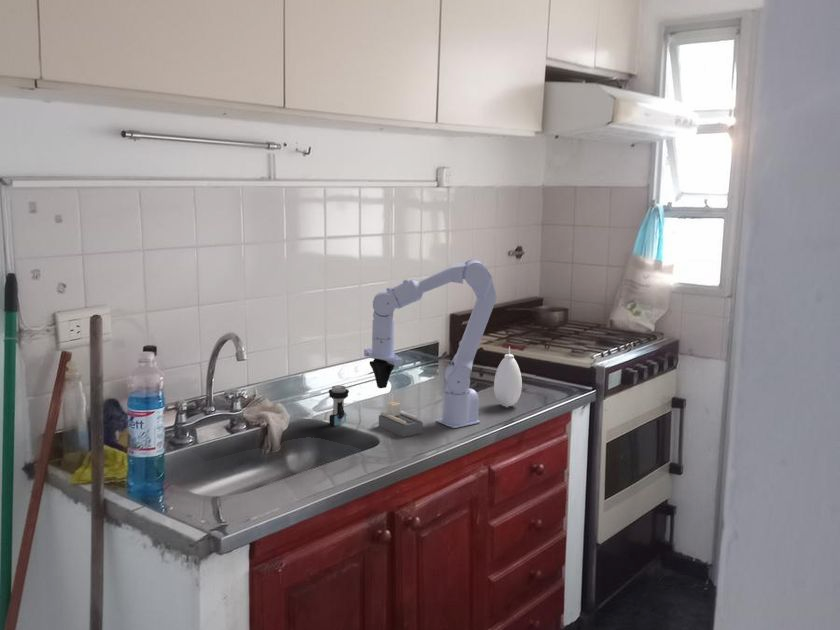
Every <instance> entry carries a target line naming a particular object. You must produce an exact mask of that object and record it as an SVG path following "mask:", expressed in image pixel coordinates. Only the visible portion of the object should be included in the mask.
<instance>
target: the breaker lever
mask: <svg viewBox="0 0 840 630" xmlns="http://www.w3.org/2000/svg"><path fill="white" fill-rule="evenodd" d="M386 405H387V407H386V408H387V409H386V411H387V412H386V413H387V414H389V415H392V416H397V415H400V410H401V403H400V402H397V401H394V402H393V401H392V402H388V403H387V404H386Z"/></svg>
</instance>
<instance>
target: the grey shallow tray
mask: <svg viewBox="0 0 840 630" xmlns="http://www.w3.org/2000/svg"><path fill="white" fill-rule="evenodd" d="M423 425H424V424H423V421H422V418H421V417H418V416H416V415H413V414H411V413H408V412H406V411H403V410H401V409H400V415H397V416H392V415H389V414H387V412H384V411H381V412H380V414H379V415H378V427H380V428H382V429H385V430H387V431H389V432H391V433H394V434H395V435H397V436H400V437H402V438H407V437H411V436H416V435H420V434H423Z"/></svg>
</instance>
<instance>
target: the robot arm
mask: <svg viewBox="0 0 840 630" xmlns="http://www.w3.org/2000/svg"><path fill="white" fill-rule="evenodd" d="M464 280H465V282H466V283H467V284H468V286H469V287H471V289H472V292H473V293H474V294H475V296H476V300H475V303H474V306H473V309H472V311H471V314H470V317H469V319H468V321H467V324H466V327H465V330H464V333H463V335H462V338H461V341H460V343H459V346H458V348H457V351H456V353H455V354H454V356H453V358H452V360H451V363H449V364H448V365H447V366H446V367H445V370H444V374H443V375H444V378H445V380H446V381H445V383H446V384H445V386H444V387H443V389H442V390H443V391H442V395H443V396H442V417H441V418H436V419H435V422H437V423H439V424H441V425H445V426H447V427H450V428H452V429H458V428H463V427H467V426H470V425H475V424H479V423H481V420H479V403H480V399H479V395H478V393H477V391H476V390H475V389H473V388H472V387H471V388H470V385H471V373H472V369H473V365H474V359H475V356H476V354H477V351H478V349H479V347H480V343H481V341H482V339H483V335H484V333H485V330H486V327H487V325H488V322H489V319H490V317H491V314H492V312H493V309H494V306H495V304H496V301H497V295H496V290H495V285H494V281H493V276H492V274H491V272H490V271H489V269H488V267H487V266H486V265H484V263H483V262H482V261H480V260H479V259H476V258H471V259H468V260H466V262H464V261H463V262H459V263H456V264H454V265H450V266H448V267H446V268H445V269H442V270H440V271H438V272H437V273H434V274H432V275H430V276H428V277H426V278H424V279H422V280H420V281H418V280H415V279H410V280H409V279H407V278H406V279H404V280H402V283H401V284H398V285H395V286H394V287H386V289H385V290H386V291H380V292H378V293H376V295H375V296H374V297H373V300H372V309H373V313H372V318H373V319H372V333H371V337H372V338H371V348H364V349H363V357H366V358H367V357H368V358H370V359H373V360H371V361H369V366H370V367H371V369H372V372H373V375H374V378H375V382H376V387H377V388H378V389H385V388H387V387H388V382H389V379H390V376H391V374H392V372H393V370H394V368H395V367H401V366H402V367H403V358H402V357H400V356H398V355H397V354H396V353H394V350H395V349H394V348H395V347H394V346H395V340H394V339H395V320H394V311H395V310H396V309H397V310H398V309H401V308H404V307H406V306H409V305H410V304H413V303H415V302H418V301H420V300H421V299H422V297H423V295H424V293H426V292H429V291H433V290H434V289H436V288H439V287H441V286H444V285H448V284H449V283H457V284H462V285H463V284H464Z"/></svg>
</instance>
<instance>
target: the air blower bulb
mask: <svg viewBox="0 0 840 630" xmlns="http://www.w3.org/2000/svg"><path fill="white" fill-rule="evenodd" d="M521 374H522V373H521V369H520V367H519V364H518V362H517V360H516V359H515V356H514V354H511V346H510V345H509V346H508V353H506V354H504V357H503V358H502V360H501V361H500V363H499V365H498V366H497V368H496V371H495V376H494V380H493V381H494V382H493V391H494V396H495V398H496V401H497V402H498V403H500V405H501V406H503V407H504V406H510V407H512V406H514V404H516V403H518V401H519V399H520V397H521V394H522V389H523V388H522V387H523V386H522V385H523V382H522V381H523V379H522V378H523V377H522V375H521Z"/></svg>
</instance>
